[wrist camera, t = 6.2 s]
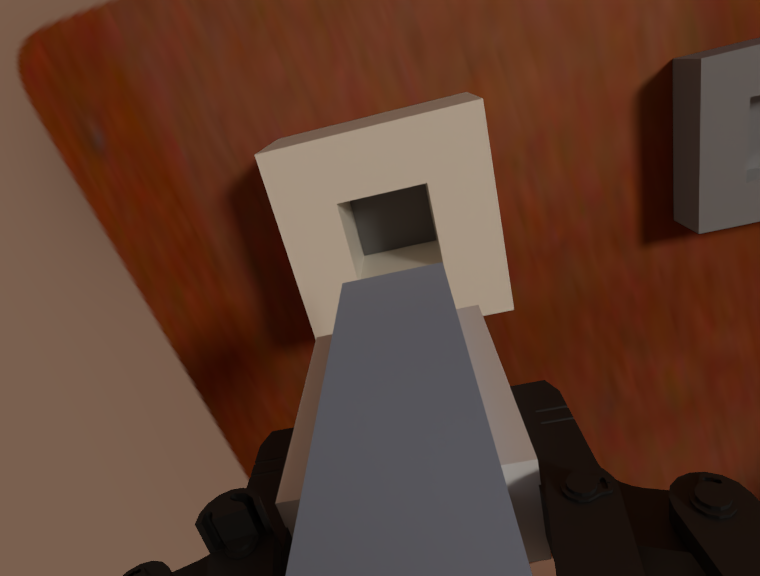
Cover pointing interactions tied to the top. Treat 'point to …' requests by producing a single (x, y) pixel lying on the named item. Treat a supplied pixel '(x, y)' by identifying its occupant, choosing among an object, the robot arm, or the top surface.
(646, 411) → the top surface
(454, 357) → the plug
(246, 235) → the top surface
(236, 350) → the top surface
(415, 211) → the port
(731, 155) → the grey square socket block
